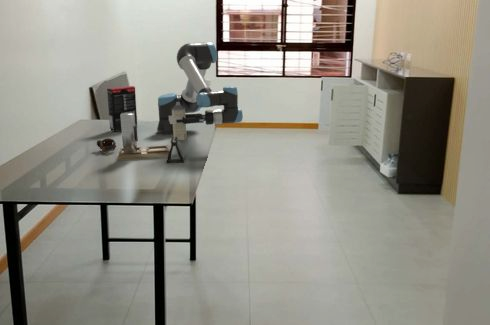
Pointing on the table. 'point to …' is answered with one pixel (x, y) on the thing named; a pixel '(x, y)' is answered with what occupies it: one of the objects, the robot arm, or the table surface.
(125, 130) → the metal canister
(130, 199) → the table surface
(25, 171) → the table surface
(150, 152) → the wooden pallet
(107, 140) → the brown curved piece
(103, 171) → the table surface
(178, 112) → the aerosol can
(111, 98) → the graphics card box
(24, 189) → the table surface
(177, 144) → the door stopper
